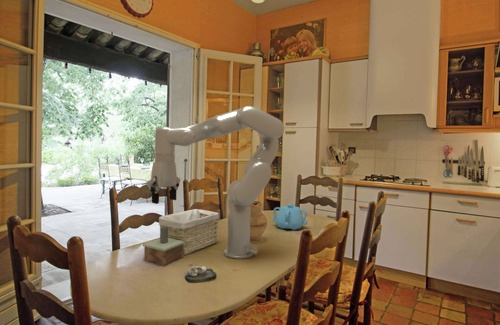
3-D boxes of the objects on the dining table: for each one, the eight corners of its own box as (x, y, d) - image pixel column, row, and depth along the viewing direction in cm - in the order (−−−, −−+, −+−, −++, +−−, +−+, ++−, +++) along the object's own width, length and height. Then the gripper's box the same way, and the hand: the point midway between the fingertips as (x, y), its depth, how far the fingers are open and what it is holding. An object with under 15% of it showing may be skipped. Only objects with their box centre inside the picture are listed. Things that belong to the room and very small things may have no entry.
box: (183, 257, 131) (183, 243, 130) (164, 266, 122) (164, 250, 121) (163, 253, 136) (163, 239, 136) (144, 260, 127) (144, 245, 126)
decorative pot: (283, 232, 172) (283, 207, 171) (270, 225, 187) (271, 202, 186) (309, 230, 178) (310, 206, 177) (295, 223, 193) (295, 201, 192)
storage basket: (182, 257, 131) (183, 222, 131) (156, 249, 141) (156, 216, 140) (220, 243, 151) (220, 212, 150) (195, 237, 160) (195, 208, 159)
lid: (184, 246, 131) (184, 226, 130) (164, 254, 121) (164, 233, 120) (163, 241, 136) (163, 223, 136) (142, 248, 126) (142, 229, 126)
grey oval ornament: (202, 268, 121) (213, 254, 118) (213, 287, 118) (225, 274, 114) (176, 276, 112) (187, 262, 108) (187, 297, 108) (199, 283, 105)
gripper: (173, 157, 136) (172, 197, 137) (141, 158, 121) (140, 203, 122) (186, 158, 132) (186, 199, 133) (155, 159, 117) (155, 205, 118)
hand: (164, 201), depth 128 cm, fingers open, 9 cm apart
